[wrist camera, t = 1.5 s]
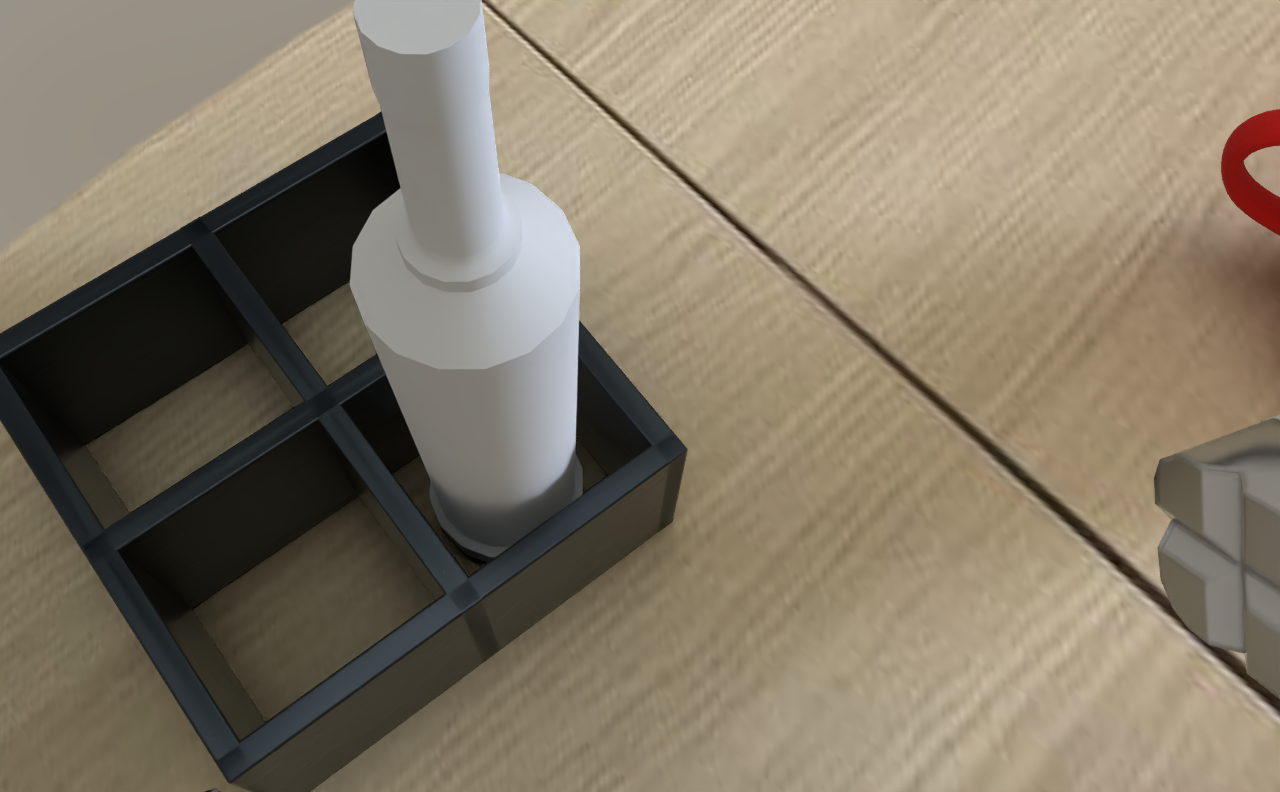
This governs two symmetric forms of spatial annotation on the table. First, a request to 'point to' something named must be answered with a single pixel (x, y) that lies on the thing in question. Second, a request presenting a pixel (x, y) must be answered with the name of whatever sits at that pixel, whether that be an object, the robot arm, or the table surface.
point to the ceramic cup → (1237, 181)
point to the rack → (297, 466)
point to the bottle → (467, 285)
